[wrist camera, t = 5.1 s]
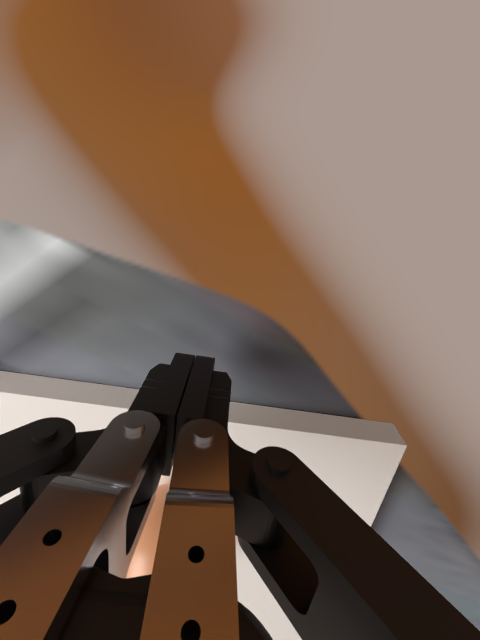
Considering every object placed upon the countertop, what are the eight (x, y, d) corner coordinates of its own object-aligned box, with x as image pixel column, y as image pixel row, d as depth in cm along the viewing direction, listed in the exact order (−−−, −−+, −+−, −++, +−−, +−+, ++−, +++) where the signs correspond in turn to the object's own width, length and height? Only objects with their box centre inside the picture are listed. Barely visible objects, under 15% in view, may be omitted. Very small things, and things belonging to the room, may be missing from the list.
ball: (237, 465, 15) (233, 586, 10) (224, 534, 17) (216, 662, 12) (133, 452, 15) (82, 569, 10) (131, 523, 17) (87, 649, 12)
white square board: (393, 423, 16) (407, 445, 14) (304, 637, 23) (308, 666, 22) (-12, 369, 15) (-38, 386, 14) (31, 607, 23) (17, 635, 21)
